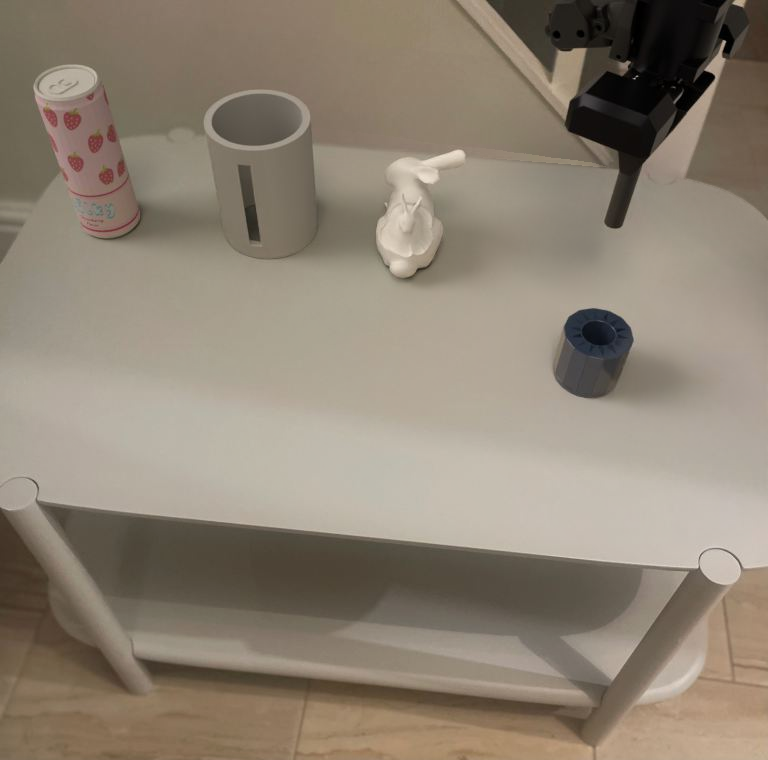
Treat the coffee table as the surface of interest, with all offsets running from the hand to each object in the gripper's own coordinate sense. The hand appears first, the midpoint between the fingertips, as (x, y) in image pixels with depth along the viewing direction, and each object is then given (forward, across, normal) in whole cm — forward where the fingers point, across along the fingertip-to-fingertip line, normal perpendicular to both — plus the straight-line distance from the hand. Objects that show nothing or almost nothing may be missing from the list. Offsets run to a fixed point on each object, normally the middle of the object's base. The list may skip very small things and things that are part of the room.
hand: (631, 167), depth 63 cm
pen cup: (+13, +10, +4) cm, 17 cm away
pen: (+6, 0, 0) cm, 6 cm away
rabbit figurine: (+13, +5, -16) cm, 22 cm away
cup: (+13, +12, -29) cm, 34 cm away
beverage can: (+13, +20, -42) cm, 49 cm away
